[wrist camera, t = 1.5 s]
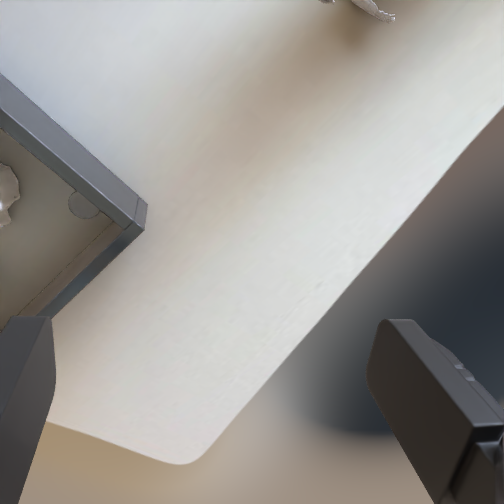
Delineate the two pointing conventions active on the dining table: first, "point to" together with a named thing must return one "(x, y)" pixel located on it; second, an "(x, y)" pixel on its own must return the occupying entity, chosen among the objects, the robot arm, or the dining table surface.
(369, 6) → the soldier figure
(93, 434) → the dining table surface
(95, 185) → the grey open box
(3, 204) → the shaker set
